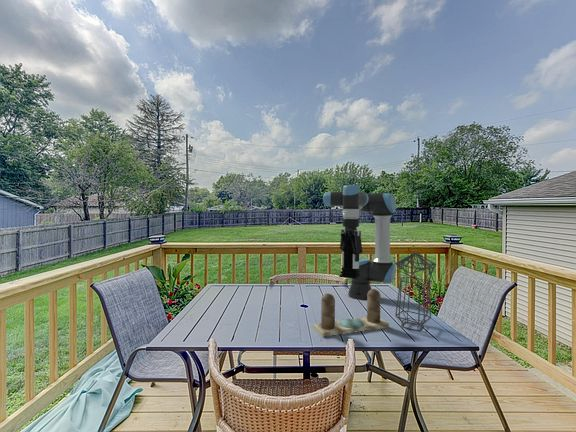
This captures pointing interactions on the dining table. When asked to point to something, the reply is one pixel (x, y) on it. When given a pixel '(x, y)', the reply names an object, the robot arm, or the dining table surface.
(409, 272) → the geometric lantern
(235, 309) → the dining table surface
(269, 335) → the dining table surface
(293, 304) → the dining table surface
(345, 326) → the wooden twin peg stand
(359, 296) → the robot arm
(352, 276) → the chess piece
